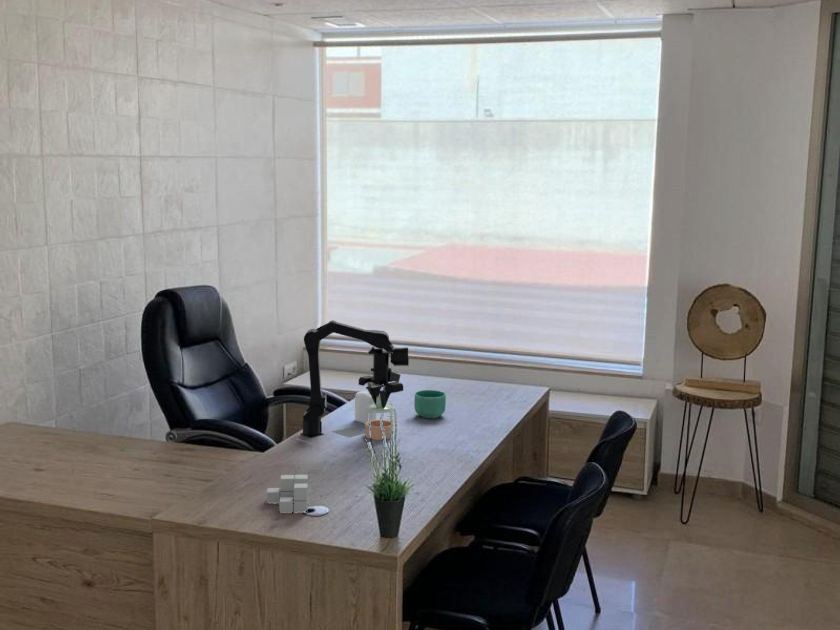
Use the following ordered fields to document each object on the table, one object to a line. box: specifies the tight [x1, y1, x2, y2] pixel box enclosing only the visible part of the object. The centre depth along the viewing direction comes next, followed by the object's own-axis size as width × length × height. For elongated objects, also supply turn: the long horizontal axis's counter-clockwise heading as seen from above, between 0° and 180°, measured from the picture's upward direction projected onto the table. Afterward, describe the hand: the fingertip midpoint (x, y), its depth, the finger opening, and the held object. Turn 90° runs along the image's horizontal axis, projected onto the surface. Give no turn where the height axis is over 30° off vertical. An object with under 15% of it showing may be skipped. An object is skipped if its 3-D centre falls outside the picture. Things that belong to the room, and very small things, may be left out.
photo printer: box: [354, 390, 377, 425], centre depth 371 cm, size 10×4×12 cm, turn 39°
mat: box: [331, 426, 365, 438], centre depth 358 cm, size 10×10×1 cm
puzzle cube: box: [266, 474, 309, 513], centre depth 278 cm, size 12×12×8 cm
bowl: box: [364, 419, 397, 441], centre depth 353 cm, size 11×11×5 cm
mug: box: [413, 389, 447, 420], centre depth 385 cm, size 17×13×10 cm
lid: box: [367, 395, 395, 414], centre depth 352 cm, size 10×10×5 cm
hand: (380, 406), depth 352 cm, fingers closed on lid, 3 cm apart
